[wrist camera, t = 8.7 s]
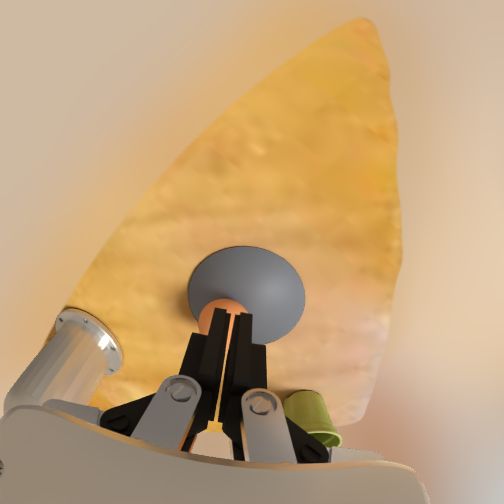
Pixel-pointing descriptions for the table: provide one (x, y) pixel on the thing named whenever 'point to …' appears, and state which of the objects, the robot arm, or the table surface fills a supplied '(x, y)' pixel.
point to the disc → (251, 289)
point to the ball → (207, 315)
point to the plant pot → (312, 417)
